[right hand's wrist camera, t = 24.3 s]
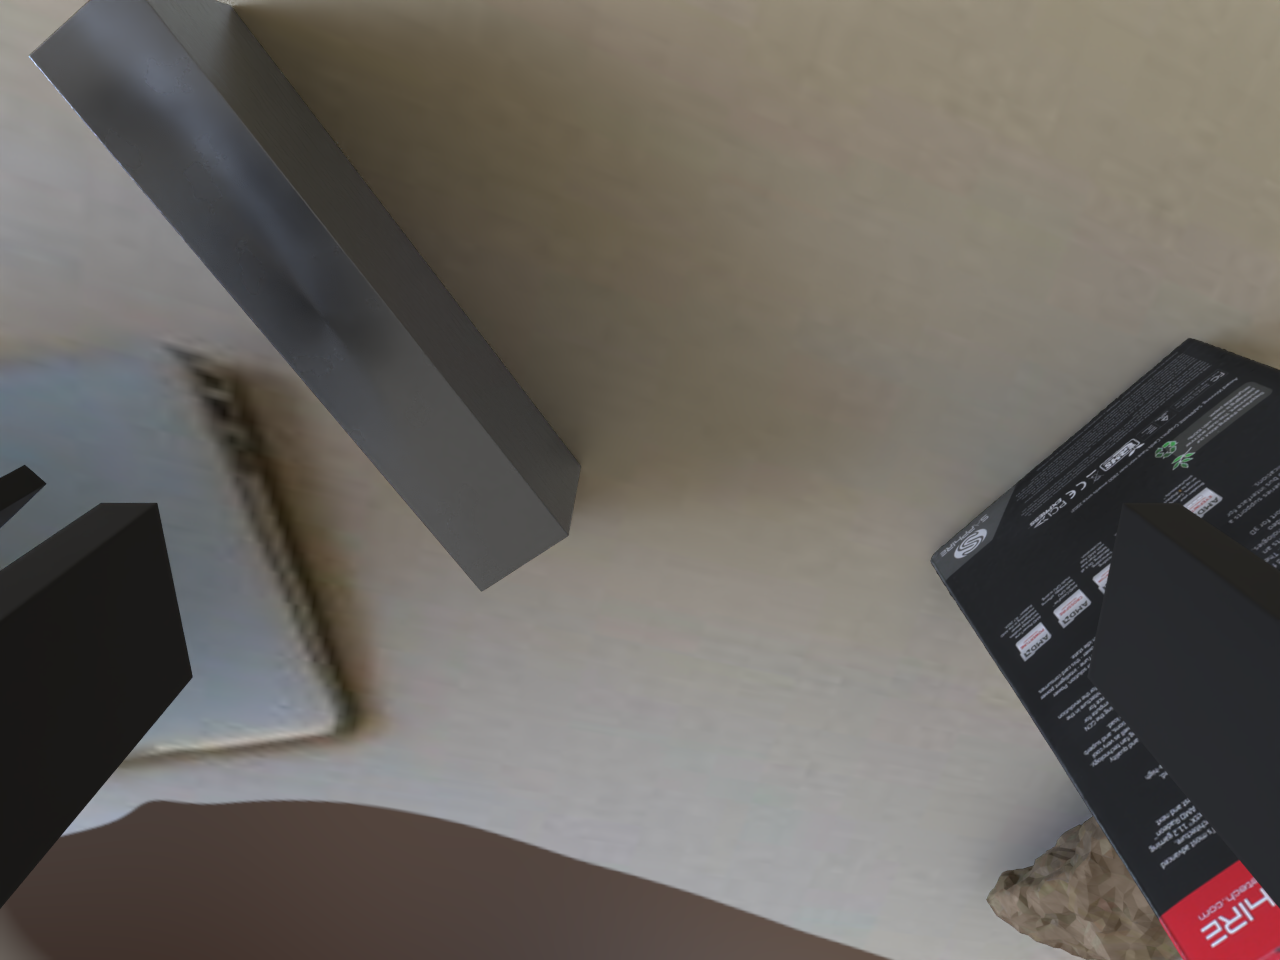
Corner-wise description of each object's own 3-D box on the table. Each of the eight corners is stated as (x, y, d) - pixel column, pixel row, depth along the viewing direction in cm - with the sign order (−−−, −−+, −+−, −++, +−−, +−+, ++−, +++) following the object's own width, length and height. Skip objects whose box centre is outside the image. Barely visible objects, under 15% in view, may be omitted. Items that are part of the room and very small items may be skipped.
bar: (581, 466, 47) (568, 535, 38) (508, 514, 48) (481, 592, 39) (230, 4, 39) (122, -31, 31) (152, 72, 40) (27, 55, 32)
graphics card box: (994, 634, 50) (1363, 1151, 24) (910, 557, 48) (1213, 1026, 23) (1257, 415, 45) (2047, 767, 20) (1176, 322, 44) (1923, 577, 18)
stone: (1173, 1018, 56) (1225, 1093, 50) (969, 883, 56) (997, 941, 50) (1396, 750, 53) (1480, 796, 47) (1180, 610, 53) (1236, 637, 47)
